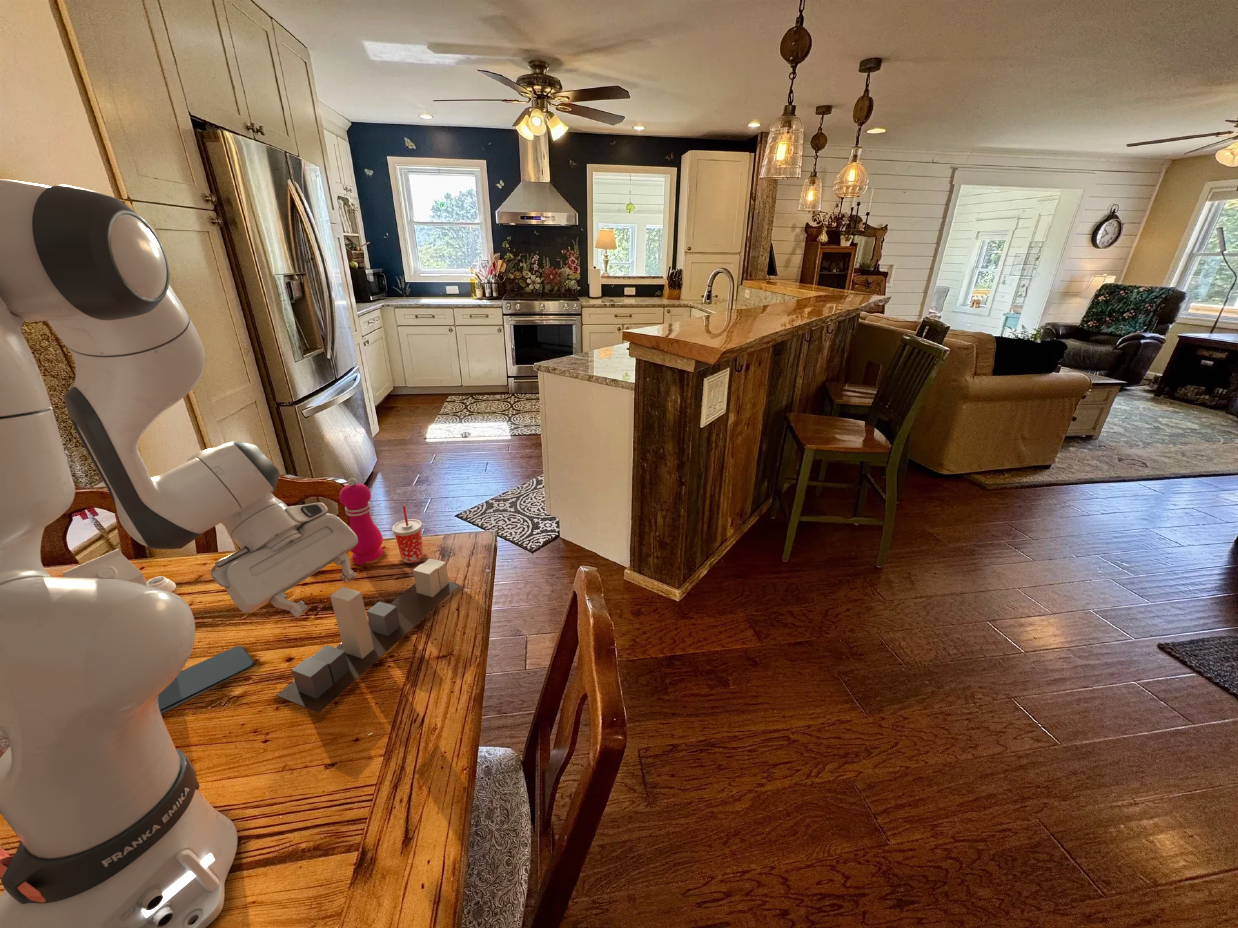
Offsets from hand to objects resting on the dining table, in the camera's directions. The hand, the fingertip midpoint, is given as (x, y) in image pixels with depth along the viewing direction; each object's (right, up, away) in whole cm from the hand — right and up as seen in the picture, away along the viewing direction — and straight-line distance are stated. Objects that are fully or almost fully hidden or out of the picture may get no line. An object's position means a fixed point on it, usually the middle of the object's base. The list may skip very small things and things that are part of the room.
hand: (328, 595), depth 82 cm
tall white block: (+4, -10, +3) cm, 11 cm away
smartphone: (-19, -14, -3) cm, 24 cm away
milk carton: (-35, -11, +3) cm, 37 cm away
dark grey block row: (+3, -11, +2) cm, 11 cm away
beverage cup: (+2, 0, +30) cm, 30 cm away
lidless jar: (-45, -4, +18) cm, 48 cm away
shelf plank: (+5, -9, +7) cm, 13 cm away
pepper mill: (-9, 0, +30) cm, 32 cm away
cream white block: (+10, -4, +19) cm, 22 cm away
